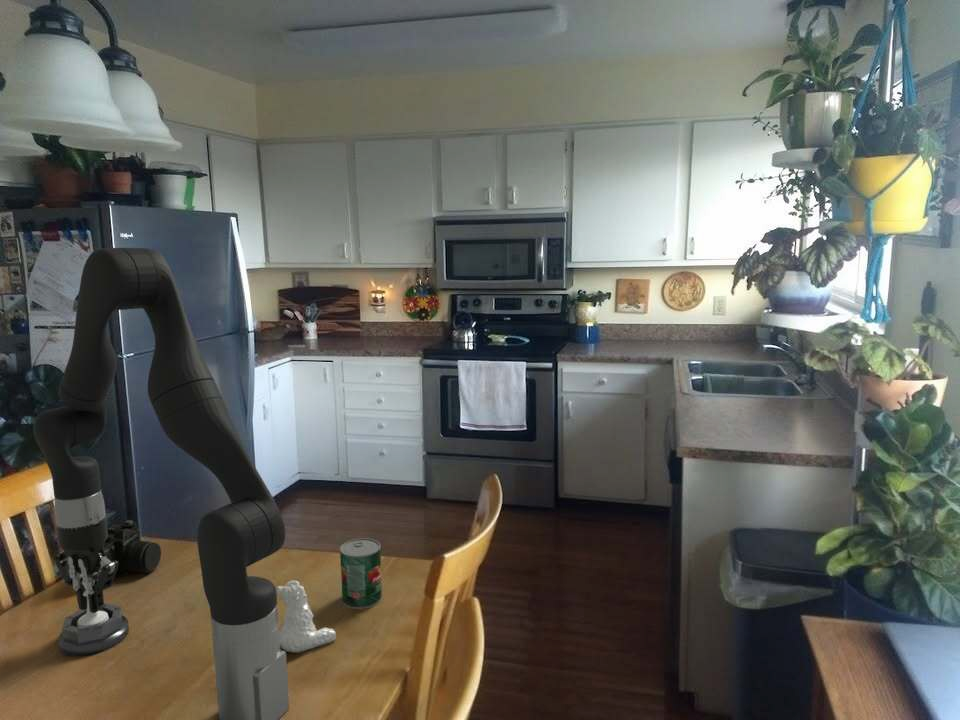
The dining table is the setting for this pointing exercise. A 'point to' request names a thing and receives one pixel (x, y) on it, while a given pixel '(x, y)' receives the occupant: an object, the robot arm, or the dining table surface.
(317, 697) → the dining table surface
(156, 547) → the camera
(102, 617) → the chess piece
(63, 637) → the ashtray
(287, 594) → the sitting furry creature
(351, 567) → the canned tomato
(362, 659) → the dining table surface
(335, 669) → the dining table surface
